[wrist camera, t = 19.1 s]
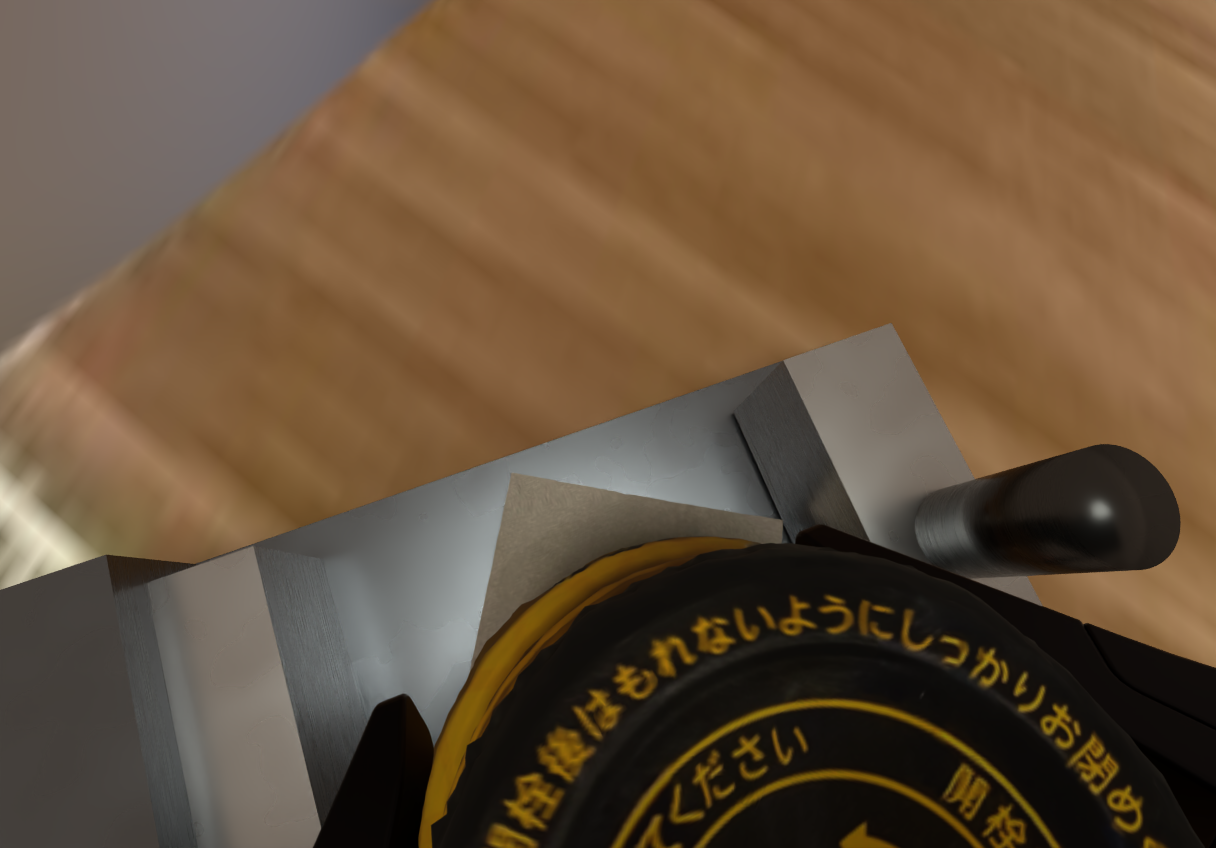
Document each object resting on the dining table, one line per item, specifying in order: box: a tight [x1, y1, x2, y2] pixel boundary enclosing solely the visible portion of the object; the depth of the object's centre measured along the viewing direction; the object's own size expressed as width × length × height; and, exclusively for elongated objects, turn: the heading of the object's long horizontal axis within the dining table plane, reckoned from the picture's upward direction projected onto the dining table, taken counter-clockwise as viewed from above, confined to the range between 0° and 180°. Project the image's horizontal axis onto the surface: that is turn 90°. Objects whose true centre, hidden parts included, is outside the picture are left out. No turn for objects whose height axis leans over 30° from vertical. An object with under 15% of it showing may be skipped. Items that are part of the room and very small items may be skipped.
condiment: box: [418, 473, 1205, 848], centre depth 9 cm, size 7×8×12 cm
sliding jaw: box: [733, 323, 1180, 606], centre depth 13 cm, size 3×10×8 cm, turn 21°
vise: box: [0, 361, 793, 848], centre depth 14 cm, size 22×12×6 cm, turn 111°
